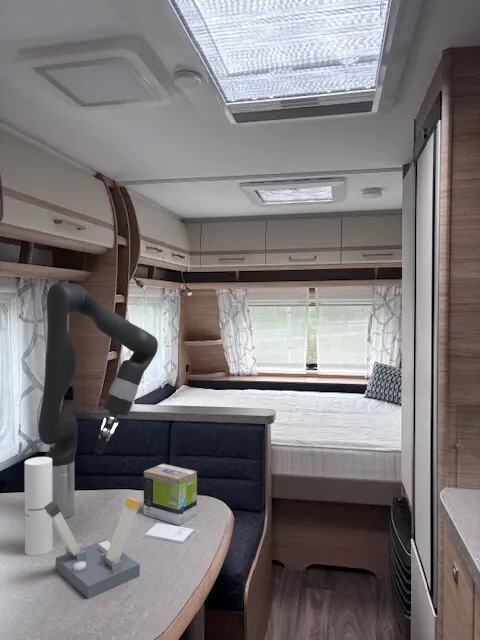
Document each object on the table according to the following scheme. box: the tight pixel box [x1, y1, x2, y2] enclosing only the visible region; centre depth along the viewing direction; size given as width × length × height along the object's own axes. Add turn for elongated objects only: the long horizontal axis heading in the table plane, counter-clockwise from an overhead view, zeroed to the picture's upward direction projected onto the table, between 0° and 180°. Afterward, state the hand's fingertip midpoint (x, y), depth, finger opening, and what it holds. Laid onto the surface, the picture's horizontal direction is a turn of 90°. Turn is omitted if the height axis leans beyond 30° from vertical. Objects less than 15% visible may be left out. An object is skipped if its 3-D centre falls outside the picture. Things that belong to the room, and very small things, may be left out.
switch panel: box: [55, 539, 141, 600], centre depth 125 cm, size 18×14×5 cm
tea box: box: [143, 463, 198, 526], centre depth 159 cm, size 15×10×15 cm
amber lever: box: [104, 496, 141, 567], centre depth 124 cm, size 4×2×16 cm, turn 44°
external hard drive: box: [144, 522, 196, 545], centre depth 146 cm, size 2×8×12 cm
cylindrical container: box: [24, 456, 54, 557], centre depth 136 cm, size 7×7×25 cm
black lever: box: [44, 502, 81, 556], centre depth 124 cm, size 4×2×16 cm, turn 45°
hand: (99, 451), depth 137 cm, fingers open, 8 cm apart
